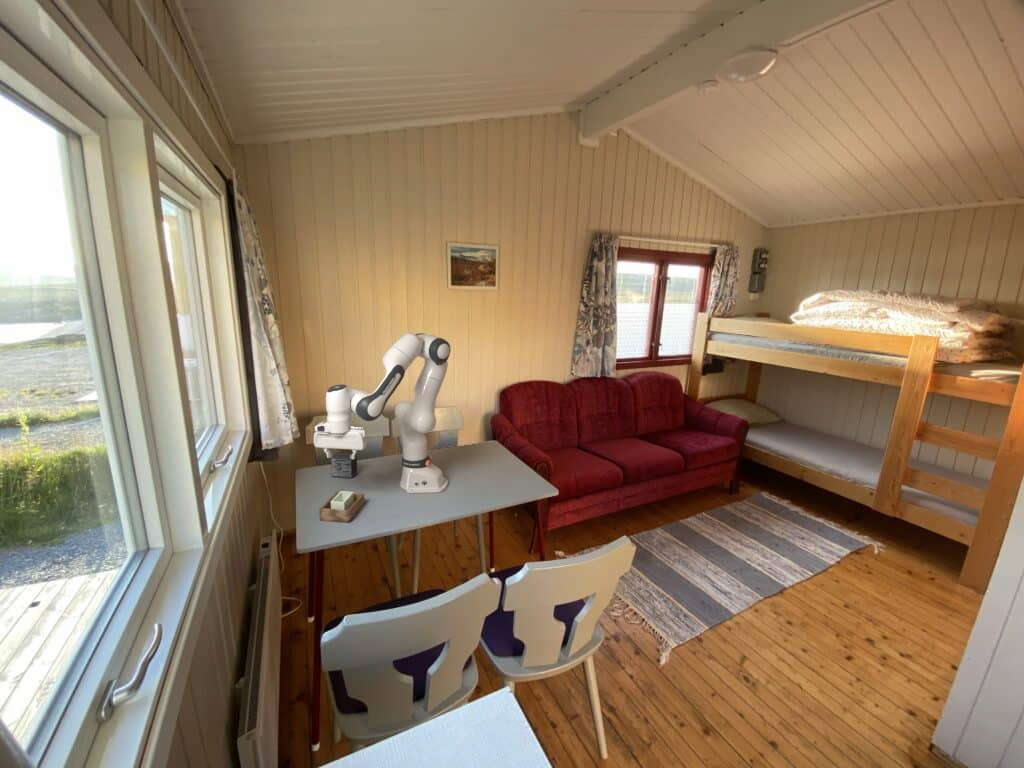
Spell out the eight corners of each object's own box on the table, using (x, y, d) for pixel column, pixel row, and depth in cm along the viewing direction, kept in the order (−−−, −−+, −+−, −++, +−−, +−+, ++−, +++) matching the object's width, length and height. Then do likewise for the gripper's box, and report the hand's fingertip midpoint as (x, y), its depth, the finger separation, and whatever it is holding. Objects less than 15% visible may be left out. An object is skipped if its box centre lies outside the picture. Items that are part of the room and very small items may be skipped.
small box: (358, 473, 212) (357, 453, 210) (352, 479, 206) (351, 458, 204) (337, 471, 213) (336, 451, 211) (331, 477, 207) (330, 456, 204)
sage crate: (354, 504, 181) (353, 492, 179) (344, 516, 172) (344, 502, 171) (341, 503, 181) (340, 491, 180) (331, 515, 172) (330, 501, 171)
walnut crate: (364, 504, 184) (364, 493, 183) (349, 523, 169) (349, 511, 168) (337, 502, 184) (336, 491, 183) (320, 520, 170) (319, 509, 169)
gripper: (368, 424, 172) (369, 456, 175) (318, 421, 173) (320, 453, 176) (362, 429, 166) (363, 462, 169) (310, 426, 167) (313, 459, 170)
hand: (341, 458), depth 173 cm, fingers open, 8 cm apart
